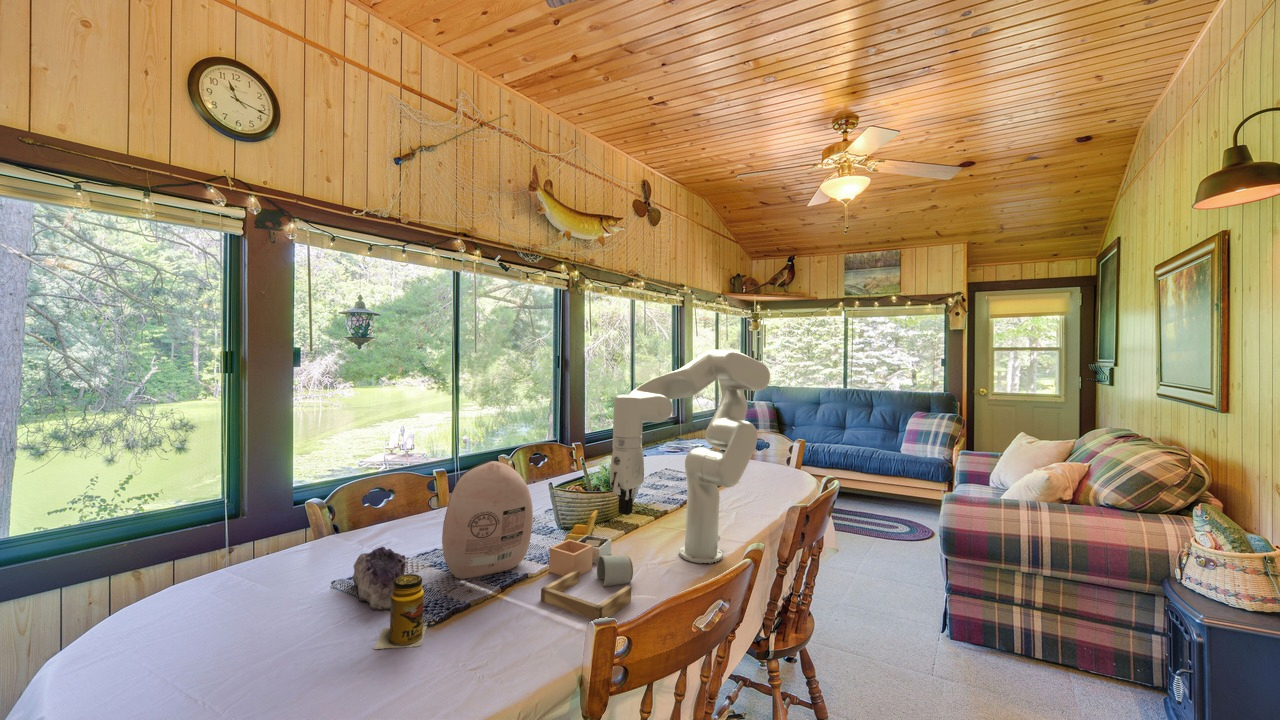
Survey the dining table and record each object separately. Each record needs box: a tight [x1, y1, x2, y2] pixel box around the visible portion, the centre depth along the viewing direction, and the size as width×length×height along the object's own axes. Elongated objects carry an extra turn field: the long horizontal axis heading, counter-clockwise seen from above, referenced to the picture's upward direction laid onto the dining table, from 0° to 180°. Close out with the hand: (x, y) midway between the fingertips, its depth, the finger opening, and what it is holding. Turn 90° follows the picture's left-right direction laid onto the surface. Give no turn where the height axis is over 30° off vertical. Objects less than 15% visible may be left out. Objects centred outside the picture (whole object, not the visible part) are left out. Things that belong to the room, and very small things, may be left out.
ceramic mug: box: [596, 554, 634, 587], centre depth 136 cm, size 10×8×7 cm
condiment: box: [373, 573, 428, 650], centre depth 106 cm, size 7×8×12 cm
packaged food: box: [441, 460, 534, 580], centre depth 137 cm, size 22×20×30 cm
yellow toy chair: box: [562, 509, 599, 542], centre depth 164 cm, size 10×10×9 cm
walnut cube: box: [585, 540, 601, 548], centre depth 150 cm, size 4×4×4 cm
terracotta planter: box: [548, 539, 593, 577], centre depth 140 cm, size 8×8×7 cm
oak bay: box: [540, 570, 633, 620], centre depth 124 cm, size 13×16×4 cm
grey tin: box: [577, 535, 612, 565], centre depth 150 cm, size 8×8×5 cm
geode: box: [352, 546, 407, 612], centre depth 125 cm, size 20×12×10 cm, turn 35°
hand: (625, 513), depth 137 cm, fingers closed
